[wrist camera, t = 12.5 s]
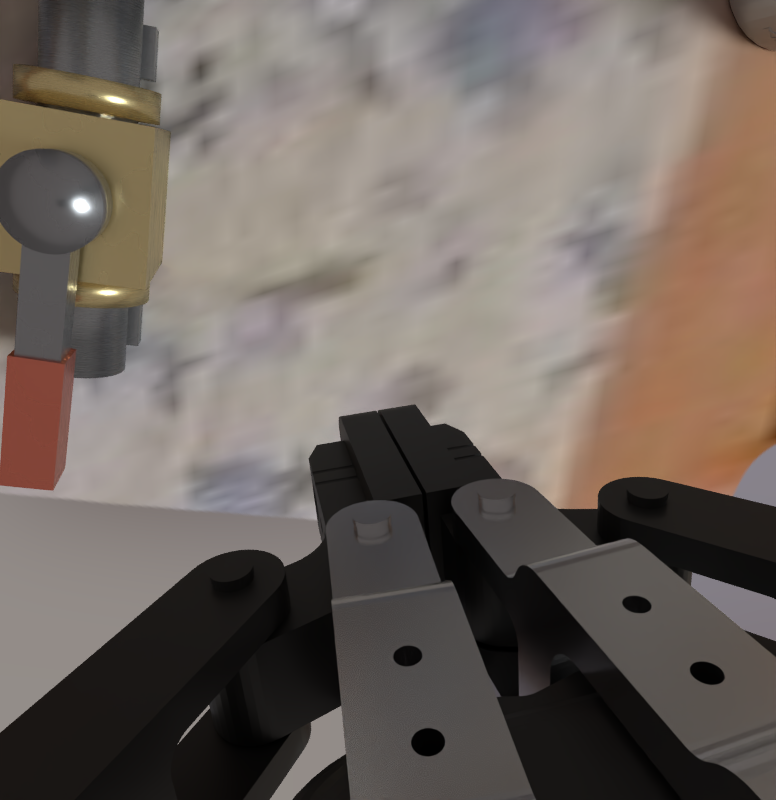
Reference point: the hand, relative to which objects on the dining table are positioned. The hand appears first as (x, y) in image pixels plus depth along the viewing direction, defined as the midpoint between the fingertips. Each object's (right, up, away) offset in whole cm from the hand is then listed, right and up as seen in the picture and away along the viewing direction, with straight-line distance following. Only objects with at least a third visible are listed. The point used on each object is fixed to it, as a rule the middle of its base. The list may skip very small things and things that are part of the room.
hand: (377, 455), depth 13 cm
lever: (-15, +5, +17) cm, 23 cm away
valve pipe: (-15, +12, +23) cm, 31 cm away
